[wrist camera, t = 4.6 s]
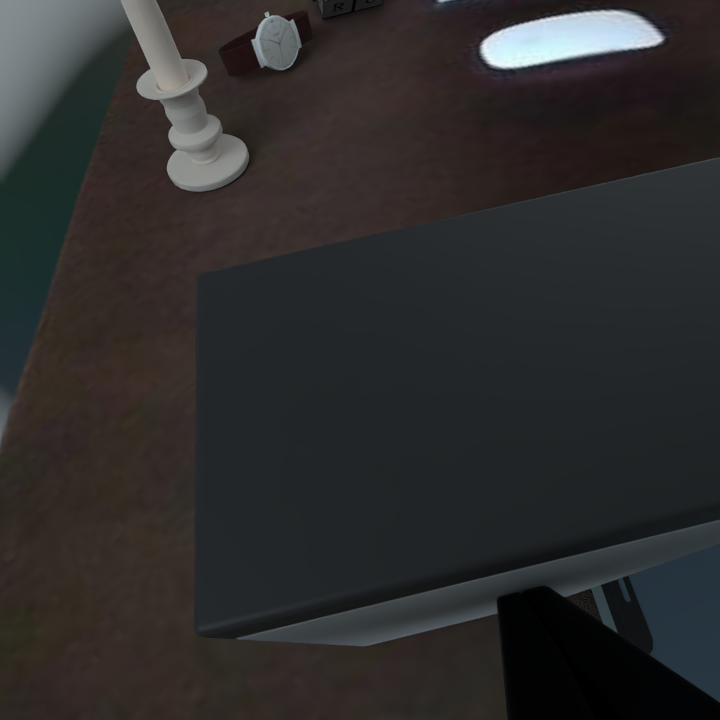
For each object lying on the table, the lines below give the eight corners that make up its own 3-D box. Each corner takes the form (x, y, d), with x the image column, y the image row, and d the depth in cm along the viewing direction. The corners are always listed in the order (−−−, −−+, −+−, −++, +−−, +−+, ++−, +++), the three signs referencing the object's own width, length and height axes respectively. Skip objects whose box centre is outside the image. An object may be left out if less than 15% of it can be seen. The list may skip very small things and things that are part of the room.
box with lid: (570, 595, 14) (1052, 428, 4) (362, 646, 14) (188, 639, 3) (521, 478, 17) (724, 153, 6) (341, 522, 17) (193, 271, 6)
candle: (246, 133, 30) (176, -73, 21) (253, 181, 27) (177, -33, 18) (170, 150, 30) (68, -50, 21) (170, 200, 27) (53, -6, 18)
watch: (247, 95, 32) (230, 39, 29) (214, 73, 34) (195, 19, 31) (328, 51, 35) (320, -5, 31) (292, 34, 37) (282, -21, 33)
